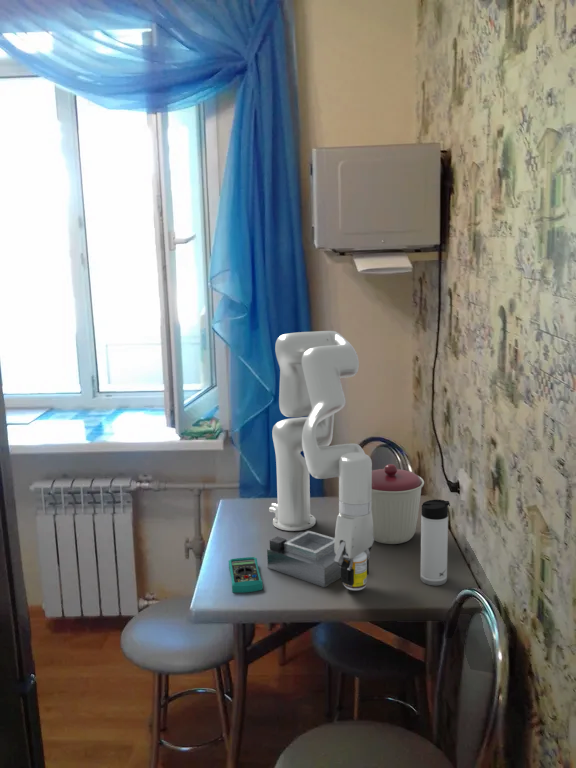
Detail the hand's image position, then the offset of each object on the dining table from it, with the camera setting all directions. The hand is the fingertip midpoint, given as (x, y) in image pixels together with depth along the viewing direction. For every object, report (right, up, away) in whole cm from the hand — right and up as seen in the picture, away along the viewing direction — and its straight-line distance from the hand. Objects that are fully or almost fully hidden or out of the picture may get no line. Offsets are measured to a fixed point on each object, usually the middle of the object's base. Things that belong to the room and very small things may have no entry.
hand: (354, 577), depth 167 cm
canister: (+13, +3, +31) cm, 33 cm away
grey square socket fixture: (-10, -1, +13) cm, 16 cm away
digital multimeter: (-26, -3, +8) cm, 28 cm away
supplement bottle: (0, -2, 0) cm, 2 cm away
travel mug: (+20, -2, +5) cm, 20 cm away
